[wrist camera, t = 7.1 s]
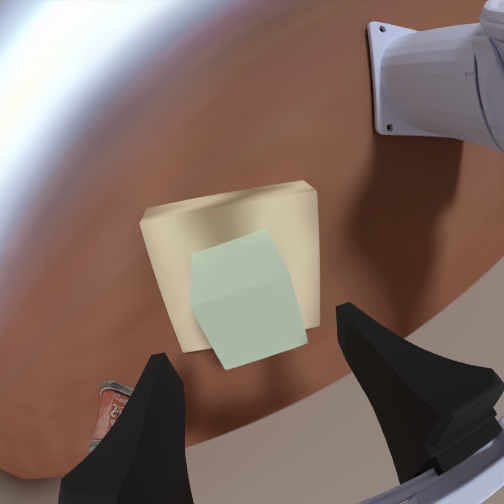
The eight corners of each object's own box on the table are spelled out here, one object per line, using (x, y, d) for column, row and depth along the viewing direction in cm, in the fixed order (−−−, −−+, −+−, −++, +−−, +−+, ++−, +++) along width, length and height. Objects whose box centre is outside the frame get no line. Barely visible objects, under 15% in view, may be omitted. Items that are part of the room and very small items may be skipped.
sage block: (266, 228, 17) (289, 272, 13) (284, 289, 19) (308, 342, 15) (191, 254, 17) (189, 306, 13) (218, 312, 19) (225, 369, 15)
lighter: (178, 411, 28) (180, 497, 19) (160, 422, 28) (159, 503, 19) (111, 376, 24) (94, 470, 15) (96, 390, 25) (79, 476, 16)
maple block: (300, 178, 19) (316, 191, 17) (307, 301, 24) (319, 325, 21) (147, 205, 19) (139, 223, 16) (183, 326, 23) (183, 352, 21)
